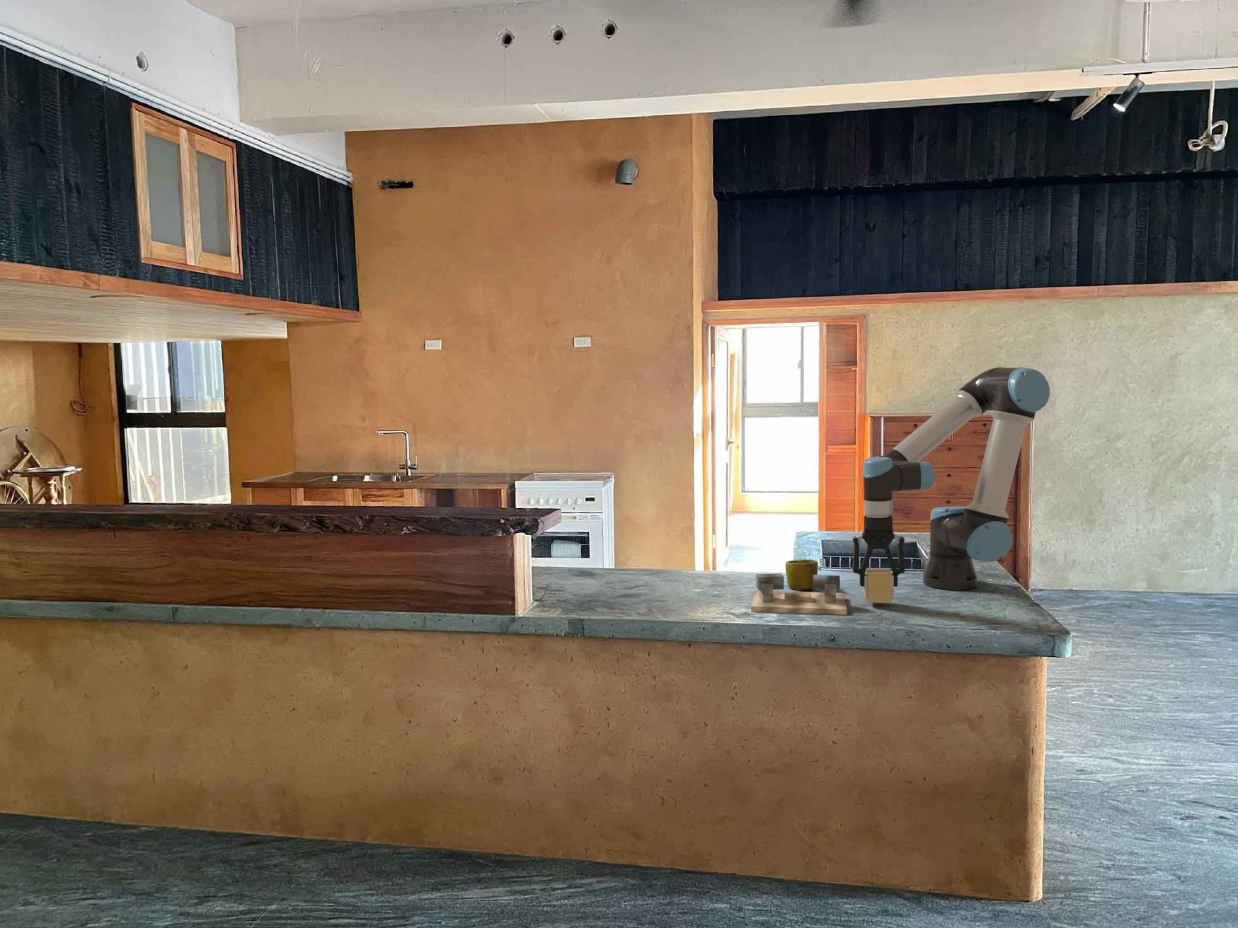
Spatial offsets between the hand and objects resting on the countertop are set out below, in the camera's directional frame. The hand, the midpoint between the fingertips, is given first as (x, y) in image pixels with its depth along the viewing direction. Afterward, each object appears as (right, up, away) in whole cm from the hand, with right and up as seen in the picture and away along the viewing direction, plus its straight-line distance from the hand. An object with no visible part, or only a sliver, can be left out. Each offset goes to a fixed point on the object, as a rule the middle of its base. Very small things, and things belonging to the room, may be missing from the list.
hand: (878, 597), depth 244 cm
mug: (-17, 0, +22) cm, 27 cm away
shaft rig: (-22, -2, +2) cm, 22 cm away
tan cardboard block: (0, 0, 0) cm, 0 cm away
